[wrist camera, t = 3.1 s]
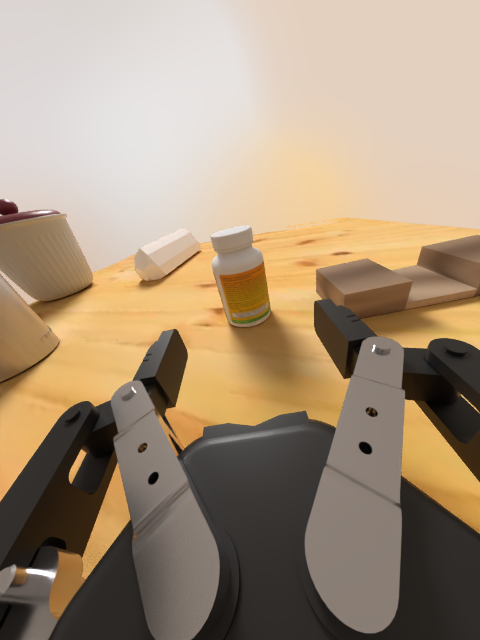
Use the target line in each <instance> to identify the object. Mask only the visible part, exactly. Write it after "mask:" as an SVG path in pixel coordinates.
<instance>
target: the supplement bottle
mask: <svg viewBox="0 0 480 640" xmlns="http://www.w3.org/2000/svg"><path fill="white" fill-rule="evenodd" d="M211 241H212V245H213V248H214V250H215V251H216V252H217V253H218V255H217V256H216V257H215V258H214V259H213V261H212V269H213V273H214V277H215V280H216V283H217V287H218V290H219V294H220V297H221V300H222V304H223V308H224V311H225V314H226V317H227V320H228V322H229V323H230V324H232V325H234V326H237V327H251V326H255V325H258V324H260V323H262V322H263V321H265V320H266V319H267V318H268V317H269V315H270V312H271V309H270V301H269V295H268V288H267V282H266V275H265V268H264V261H263V255H262V253H261V251H260V250H259V249H257V248H255V247H252V243H253V235H252V230H251V227H250V226H239V227H233V228H229V229H225V230H222V231H219V232H216V233H214V234H212V235H211Z"/></svg>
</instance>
